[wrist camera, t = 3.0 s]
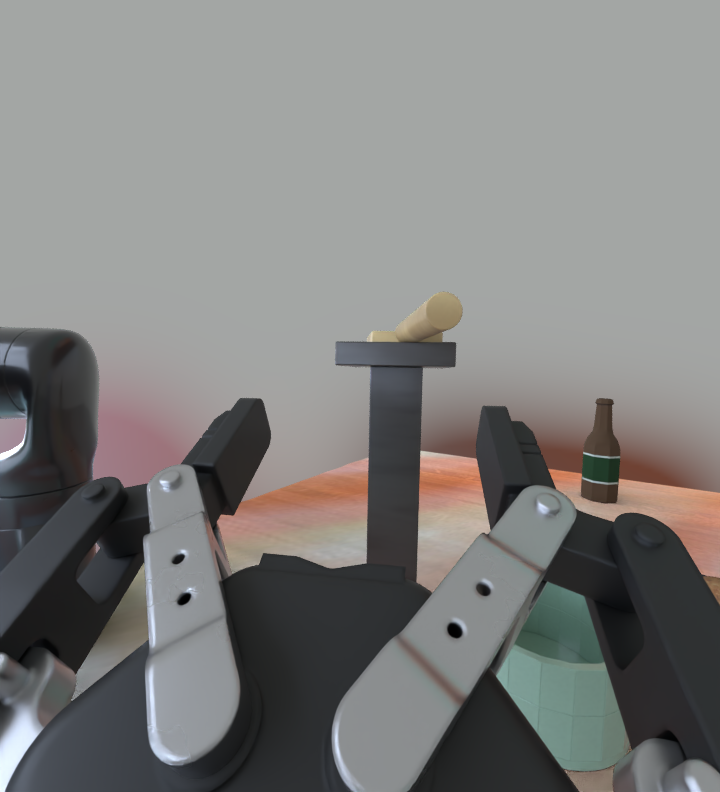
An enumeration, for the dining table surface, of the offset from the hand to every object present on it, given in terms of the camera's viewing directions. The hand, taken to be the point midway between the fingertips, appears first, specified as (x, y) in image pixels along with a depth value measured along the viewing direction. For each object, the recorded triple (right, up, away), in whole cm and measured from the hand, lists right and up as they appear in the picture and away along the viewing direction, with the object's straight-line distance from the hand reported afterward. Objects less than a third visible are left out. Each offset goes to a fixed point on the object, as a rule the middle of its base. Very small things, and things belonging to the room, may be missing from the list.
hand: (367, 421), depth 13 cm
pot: (+16, -27, +21) cm, 37 cm away
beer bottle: (+57, -24, +73) cm, 96 cm away
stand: (+3, -26, +26) cm, 37 cm away
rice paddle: (+4, +5, +17) cm, 19 cm away
